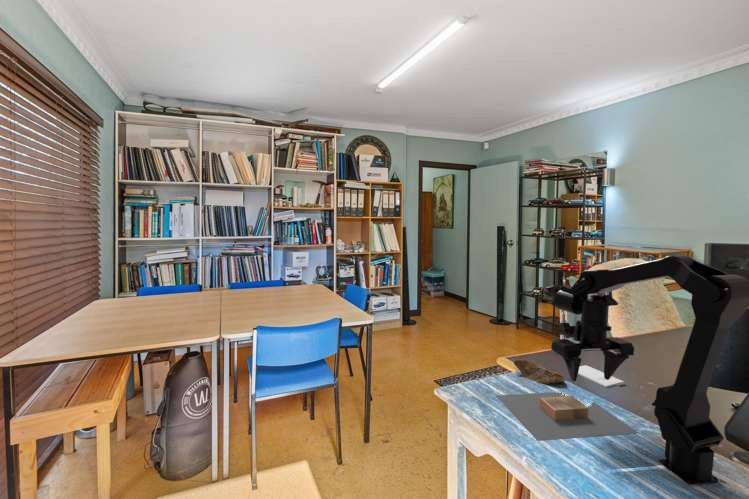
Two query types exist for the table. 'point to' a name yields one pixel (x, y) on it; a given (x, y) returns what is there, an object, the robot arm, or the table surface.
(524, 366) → the decorative stone
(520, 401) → the rubber mat
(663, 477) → the table surface
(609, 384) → the external hard drive
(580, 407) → the walnut slab
